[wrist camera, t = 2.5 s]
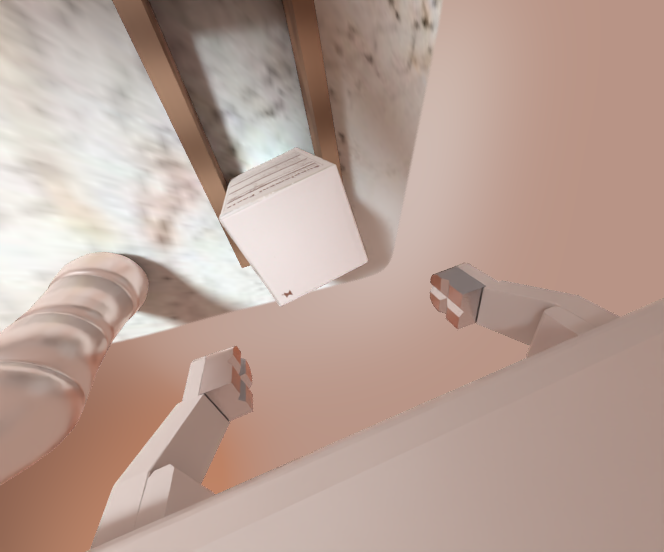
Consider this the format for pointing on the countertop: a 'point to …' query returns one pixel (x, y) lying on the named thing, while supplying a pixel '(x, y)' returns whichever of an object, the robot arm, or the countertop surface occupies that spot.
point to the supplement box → (293, 223)
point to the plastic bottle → (61, 353)
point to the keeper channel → (181, 110)
